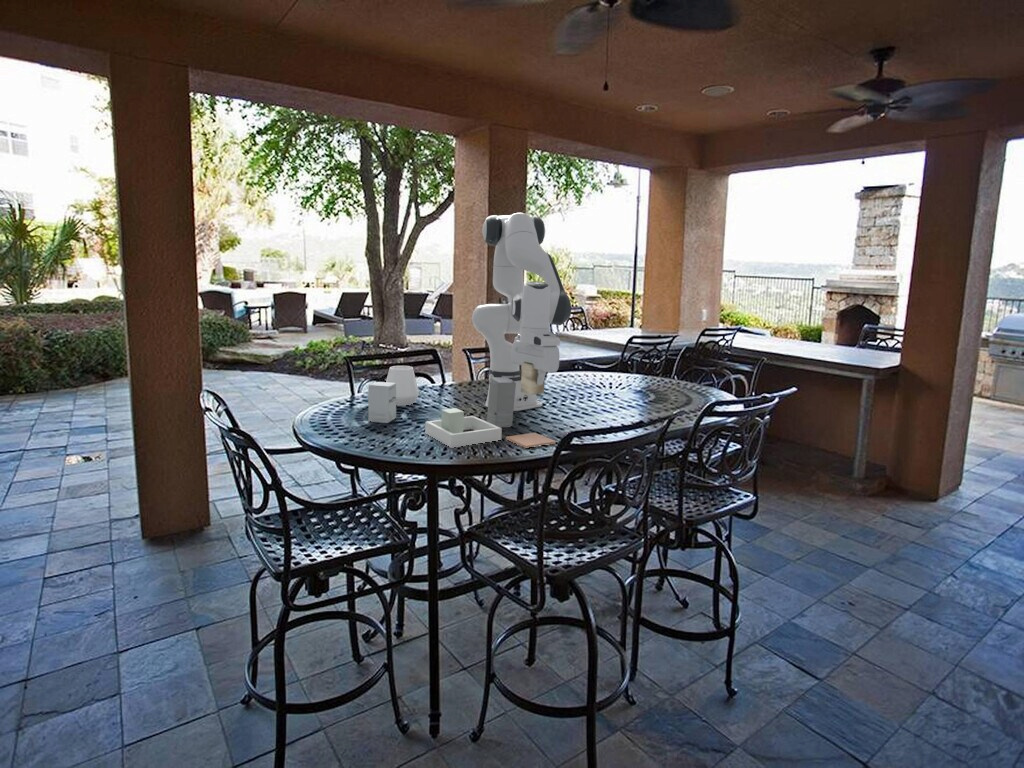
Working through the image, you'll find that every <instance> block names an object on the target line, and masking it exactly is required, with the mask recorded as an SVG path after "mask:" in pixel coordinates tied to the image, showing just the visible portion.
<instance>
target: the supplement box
mask: <svg viewBox="0 0 1024 768" xmlns="http://www.w3.org/2000/svg"><path fill="white" fill-rule="evenodd" d="M367 390H368V391H367V393H368V396H367V397H368V403H367V404H368V409H367V410H368V411H367V412H368V416H367V417H368V422H370V421H371V422H372V423H381V424H382V423H383V424H389V423H390V422H392V421H394V420H396V419H397V406H396V383H390V382H385V381H376V382H373V383H372V384H368V386H367ZM395 418H396V419H395Z"/></svg>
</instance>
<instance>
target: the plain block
mask: <svg viewBox="0 0 1024 768" xmlns="http://www.w3.org/2000/svg"><path fill="white" fill-rule="evenodd" d="M464 412H465V411H463V410H462V409H459V408H457V407H453V408H444V409H441V419H440V420H441V428H443V429H445V430H447V431H449V432H451V433H453V434H454V433H461V432H464V430H463V426H464V417H465V413H464Z"/></svg>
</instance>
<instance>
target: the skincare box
mask: <svg viewBox="0 0 1024 768" xmlns="http://www.w3.org/2000/svg"><path fill="white" fill-rule="evenodd" d="M515 389H516V382H514V381H512V380H511V379H509V378H507V377H491V378H490V390H489V389H488V391H489V401H488V407H487V416H486V422H489V423H491V424H493V425H495V426H498V427H500V428H512V427H513V420H514V411H513V410H514V399H515ZM511 426H512V427H511Z"/></svg>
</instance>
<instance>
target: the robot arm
mask: <svg viewBox="0 0 1024 768" xmlns="http://www.w3.org/2000/svg"><path fill="white" fill-rule="evenodd" d="M481 229H482V230H481V232H482V233H481V234H482V237H483V241H484V242H485V243H486V245H489V246H491V247H495V249H494V253H493V254H494V255H493V263H492V264H493V267H492V269H493V271H492V272H493V273H492V287H493V288H494V290H495V291H496V292H498V293H499V294H501V295H503V296H505V297H506V298H507V301H508V303H486V304H485V303H484V304H479V305H478V306H476V307H475V309H474V310H473V312H472V314H471V315H472V316H471V322H472V323H471V324H472V325H473V327H474V329H475V330H476V332H478V333H480V334H481V335H482V336H483V337H484V339H485V340H486V342H487V345H488V349H489V357H490V358H489V359H490V367H489V368H490V369H489V370H488V391H487V398H486V401H485V404H484V406H485V407H486V408H488V401H489V390H490V378H491V377H507V378H509V379H511V380H512V381H514V382H516V389H515V399H514V410H513V412H519V411H525V410H530V409H534V408H540V407H543V402H541V401H539V400H537V399H538V398H537V394H534V395H529V394H526V393H523V392H521V375H522V363H524V362H528V363H532V364H533V365H534V369H537V370H538V373H539V375H538V378H536V382H535V383H536V384H538V385H542V384H543V379H544V377H546V375H547V373H556V372H557V371H558V370H559V368H560V348H559V346H560V345H561V339H560V337H558V336H556V335H555V334H554V333H553V332H552V331H551V325H554V326H562V325H563V324H565V323H566V322H567V321H568V320H569V319H570V318H571V315H572V303H571V299H570V298H569V296H568V294H567V292H566V290H565V288H564V285H563V283H562V281H561V277H560V275H559V272H558V270H557V267H556V264H555V261H554V259H553V257H552V256H551V255H550V254H549V253H547V252H546V251H545V250H544V249H543V247H542V246H541V245H542V244H543V242H544V239H545V236H546V227H545V222H544V221H543V219H542V218H540V217H537V216H534V215H532V216H530V215H529V214H527V213H524V212H516V213H511V214H509V215H508V214H505V215H504V214H503V215H502V214H501V215H497V214H494V215H488V216H487V217H486V218H485V220H484V222H483V224H482V228H481ZM524 271H526V272H530V273H533V274H535V275H536V276H539V277H540V278H542V279H543V281H544V282H541V281H535V280H534V281H526V282H525V283H524ZM506 334H515V335H516V336H515V337H514V341H513V343H512V342H510V341H508V340H506V337H505V335H506ZM544 380H545V379H544Z"/></svg>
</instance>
